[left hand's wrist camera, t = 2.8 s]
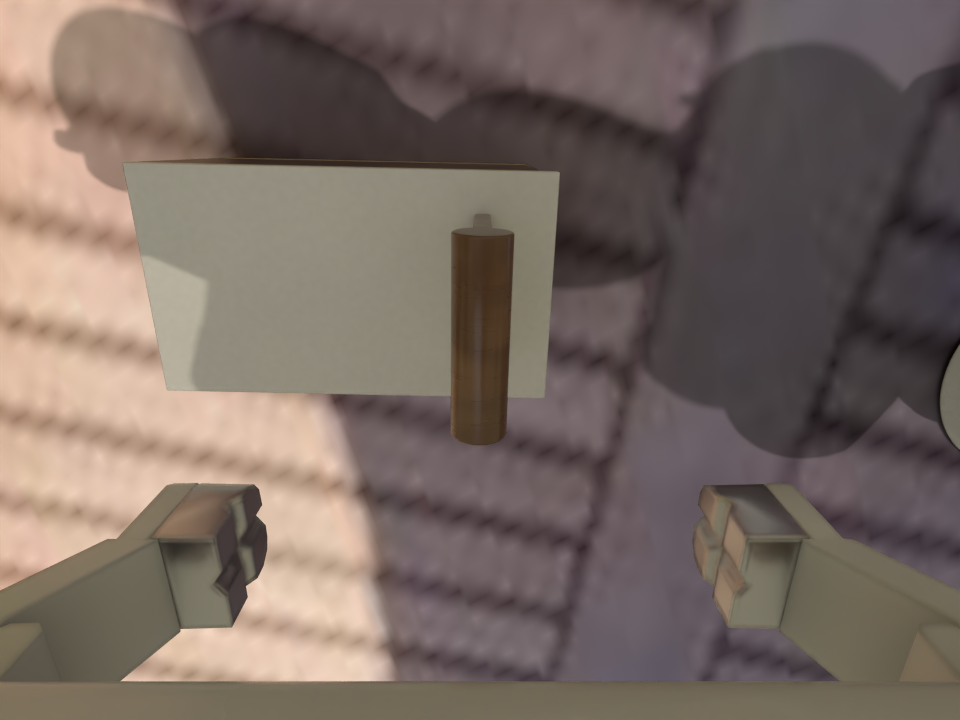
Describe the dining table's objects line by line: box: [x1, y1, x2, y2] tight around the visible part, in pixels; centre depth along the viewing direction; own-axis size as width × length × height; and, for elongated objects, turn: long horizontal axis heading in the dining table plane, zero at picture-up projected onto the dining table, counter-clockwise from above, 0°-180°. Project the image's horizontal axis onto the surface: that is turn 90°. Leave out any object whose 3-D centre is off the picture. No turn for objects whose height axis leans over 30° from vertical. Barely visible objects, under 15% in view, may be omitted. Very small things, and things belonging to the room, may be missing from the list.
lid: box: [123, 162, 560, 445], centre depth 22 cm, size 18×10×8 cm, turn 89°
